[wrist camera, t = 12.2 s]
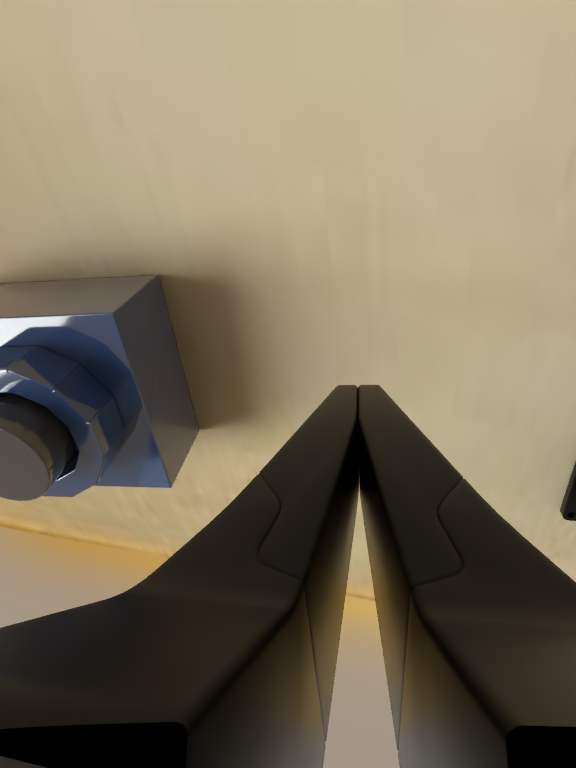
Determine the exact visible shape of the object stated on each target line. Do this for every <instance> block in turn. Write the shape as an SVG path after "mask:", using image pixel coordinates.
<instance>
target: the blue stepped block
mask: <svg viewBox="0 0 576 768" xmlns="http://www.w3.org/2000/svg"><path fill="white" fill-rule="evenodd" d="M5 394H14V395H19V396H21V397H24V398H26V399H29V400H31V401H33V402H36V403H38V404H41V405H43V406H45V407H46V408H47V409H48V410H49V411H50V412H52V413H53V414H54V415H55V416H56V417H57V418H58V419H59V420H60V421H62V422H63V423H64V424H65V425H66V426H67V427H68V428H69V431H70V433H71V435H72V437H73V439H74V441H75V454H74V457H73V459H72V461H71V462H70V463H69V465H68V466H67V467H66V468H65V470H64V471H63V472H62V473H61V474H60V476H59V477H58V478H57V479H56V481H55V482H54V483H53V484H52V486H51V487H50V488H49V489H48V491H47V492H46V493H45V494H44V495H42V496H56V497H73V496H75V495H77V494H79V493H81V492H83V491H84V490H86V489H88V488H90V487H92V486H124V487H161V488H171V487H172V485H173V483H174V481H175V479H176V477H177V475H178V473H179V471H180V469H181V467H182V465H183V463H184V461H185V459H186V457H187V455H188V452H189V450H190V448H191V446H192V444H193V442H194V440H195V438H196V436H197V434H198V432H199V429H198V425H197V421H196V417H195V413H194V409H193V406H192V402H191V398H190V394H189V390H188V387H187V383H186V379H185V375H184V371H183V368H182V364H181V360H180V356H179V352H178V348H177V345H176V341H175V337H174V333H173V329H172V326H171V322H170V318H169V314H168V310H167V307H166V303H165V299H164V295H163V291H162V287H161V284H160V280H159V276H158V275H142V276H125V277H108V278H92V279H75V280H58V281H41V282H24V283H8V284H0V395H5Z"/></svg>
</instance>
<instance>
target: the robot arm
mask: <svg viewBox="0 0 576 768" xmlns="http://www.w3.org/2000/svg"><path fill="white" fill-rule="evenodd" d="M359 484H360V497H361V505H362V512H363V519H364V526H365V532H366V539H367V546H368V553H369V560H370V567H371V573H372V580H373V587H374V594H375V601H376V608H377V614H378V621H379V628H380V635H381V642H382V648H383V655H384V662H385V669H386V675H387V683H388V689H389V696H390V703H391V710H392V717H393V724H394V730H395V737H396V744H397V750H398V758H399V765H400V768H576V582H575V581H573V580H572V579H571V578H570V577H569V576H568V575H566V574H565V573H564V572H563V571H562V570H561V569H560V568H558V567H557V566H556V565H555V564H554V563H553V562H552V561H550V560H549V559H548V558H547V557H546V556H545V555H544V554H542V553H541V552H540V551H539V550H538V549H537V548H536V547H534V546H533V545H532V544H531V543H530V542H529V541H528V540H526V539H525V538H524V537H523V536H522V535H521V534H520V533H519V532H517V531H516V530H515V529H514V528H513V527H512V526H511V525H510V524H509V523H508V522H507V521H505V520H504V519H503V518H502V517H501V516H500V515H499V514H498V513H497V512H496V511H495V510H494V509H493V508H492V507H491V506H490V505H489V504H488V503H487V502H486V501H485V500H484V499H483V498H482V497H481V496H480V495H479V494H478V493H477V492H476V491H475V489H474V488H473V487H472V486H471V485H470V484H469V483H468V482H467V481H466V480H465V479H463V477H462V475H461V474H460V473H459V472H458V471H457V470H456V469H455V468H454V467H453V466H452V465H451V463H450V462H449V461H448V460H447V459H446V458H445V457H444V456H443V455H442V454H441V453H440V451H439V450H438V449H437V448H436V447H435V446H434V445H433V444H432V443H431V442H430V440H429V439H428V438H427V437H426V436H425V435H424V434H423V433H422V432H421V431H420V430H419V428H418V427H417V426H416V425H415V424H414V423H413V422H412V421H411V420H410V419H409V418H408V416H407V415H406V414H405V413H404V412H403V411H402V410H401V409H400V408H399V407H398V406H397V404H396V403H395V402H394V401H393V400H392V399H391V398H390V397H389V396H388V395H387V393H386V392H385V391H384V390H383V389H382V388H381V387H380V386H379V385H360V386H359V387H357V386H355V385H339V386H337V387H336V388H335V389H334V390H333V391H332V392H331V393H330V394H329V396H328V397H327V398H326V399H325V400H324V401H323V402H322V403H321V404H320V406H319V407H318V408H317V409H316V410H315V411H314V412H313V413H312V415H311V416H310V417H309V418H308V419H307V420H306V421H305V422H304V423H303V425H302V426H301V427H300V428H299V429H298V430H297V431H296V432H295V433H294V435H293V436H292V437H291V438H290V439H289V440H288V441H287V442H286V444H285V445H284V446H283V447H282V448H281V449H280V450H279V451H278V452H277V454H276V455H275V456H274V457H273V458H272V459H271V460H270V461H269V462H268V464H267V465H266V466H265V467H264V468H263V469H262V470H261V471H260V473H259V475H257V476H256V477H255V478H254V479H253V480H252V481H251V482H250V483H249V485H248V486H247V487H246V488H245V489H244V490H243V491H242V492H241V493H240V494H239V495H238V496H237V497H236V498H235V499H234V500H233V501H232V502H231V503H230V504H229V505H228V506H227V507H226V508H225V509H224V510H223V511H222V512H221V513H220V514H219V515H218V516H216V517H215V518H214V519H213V520H212V521H211V522H210V523H209V524H208V525H207V526H206V527H204V528H203V529H202V530H201V531H200V532H199V533H198V534H196V535H195V536H194V537H193V538H192V539H191V540H190V541H189V542H187V543H186V544H185V545H184V546H183V547H182V548H181V549H179V550H178V551H177V552H176V553H175V554H174V555H173V556H171V557H170V558H169V559H168V560H167V561H166V562H165V563H164V564H162V565H161V566H160V567H159V568H158V569H157V570H156V571H155V572H153V573H152V574H151V575H149V576H148V577H147V578H146V579H144V580H143V581H142V582H140V583H139V584H137V585H136V586H134V587H133V588H131V589H129V590H128V591H126V592H124V593H121V594H119V595H117V596H114V597H112V598H109V599H106V600H102V601H99V602H95V603H91V604H87V605H84V606H80V607H76V608H72V609H69V610H66V611H62V612H58V613H54V614H50V615H47V616H43V617H39V618H35V619H32V620H28V621H24V622H21V623H17V624H13V625H10V626H6V627H2V628H0V768H323V761H324V753H325V742H326V738H327V730H328V722H329V715H330V708H331V700H332V693H333V685H334V677H335V670H336V662H337V654H338V647H339V640H340V632H341V624H342V617H343V609H344V602H345V594H346V587H347V579H348V571H349V564H350V556H351V549H352V541H353V534H354V526H355V518H356V511H357V503H358V494H359ZM560 512H561V514H562V516H563V518H564V519H566V520H570V521H576V462H575V465H574V468H573V472H572V475H571V478H570V481H569V484H568V487H567V490H566V493H565V496H564V499H563V503H562V506H561V509H560Z"/></svg>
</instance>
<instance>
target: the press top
mask: <svg viewBox="0 0 576 768" xmlns="http://www.w3.org/2000/svg"><path fill="white" fill-rule="evenodd" d="M74 454H75V441H74V439H73V437H72V435H71V433H70V431H69V428H68V427H67V426H66V425H65V424H64V423H63V422H62V421H60V420H59V419H58V418H57V417H56V416H55V415H54V414H53V413H52V412H50V411H49V410H48V409H47V408H46V407H45V406H43V405H41V404H38V403H36V402H33V401H31V400H29V399H26V398H24V397H21V396H19V395H14V394H5V395H0V497H3V498H6V499H11V500H17V501H28V500H33V499H36V498H39V497H41V496H42V495H44V494H45V493H46V492H47V491H48V489H49V488H50V487H51V486H52V484H53V483H54V482H55V481H56V479H57V478H58V477H59V476H60V474H61V473H62V472H63V471H64V470H65V468H66V467H67V466H68V465H69V463H70V462H71V461H72V459H73V457H74Z"/></svg>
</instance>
